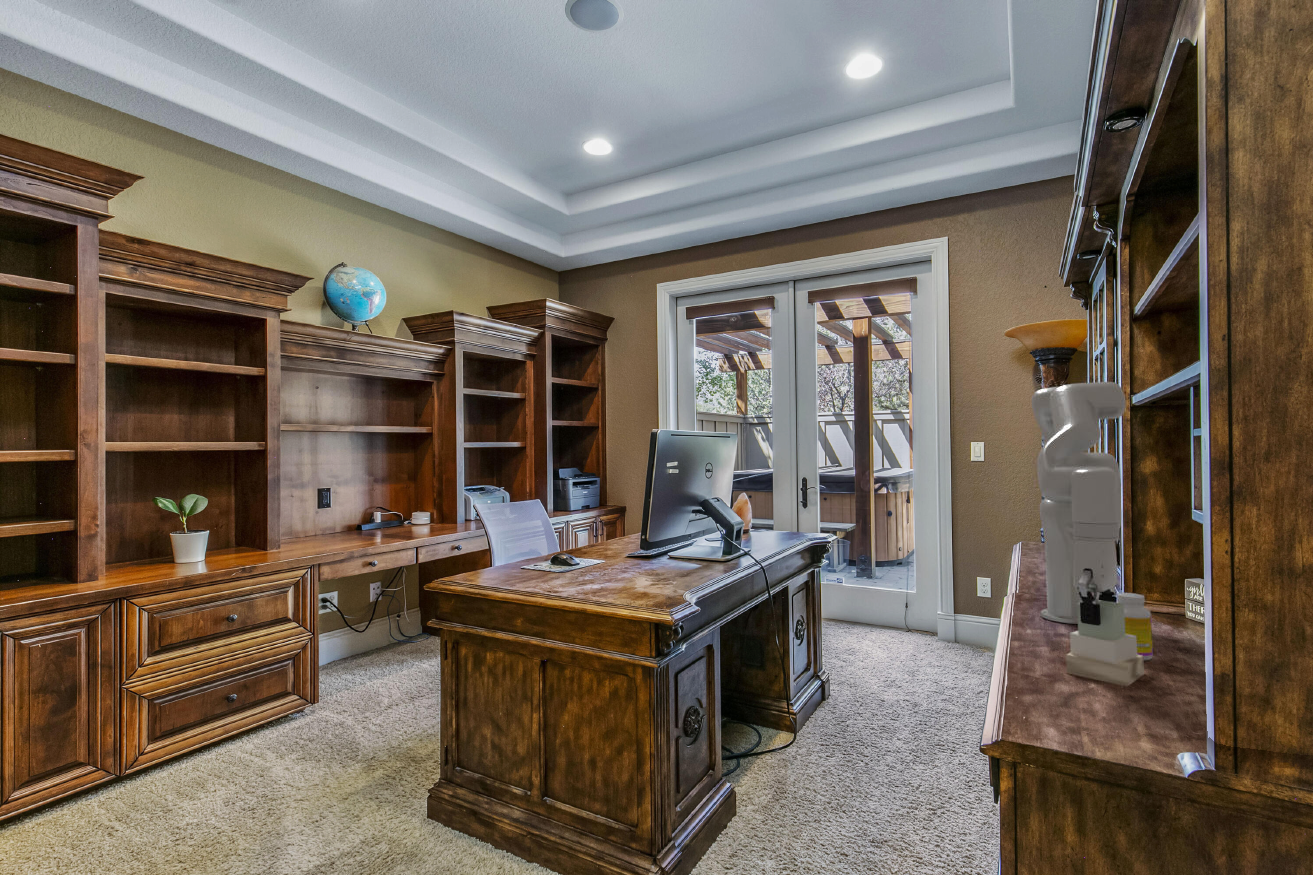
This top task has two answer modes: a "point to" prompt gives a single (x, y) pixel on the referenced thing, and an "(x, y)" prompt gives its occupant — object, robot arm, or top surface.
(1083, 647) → the tower top block
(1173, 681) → the top surface
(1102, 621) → the stack block
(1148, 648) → the supplement bottle
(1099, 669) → the tower base block
